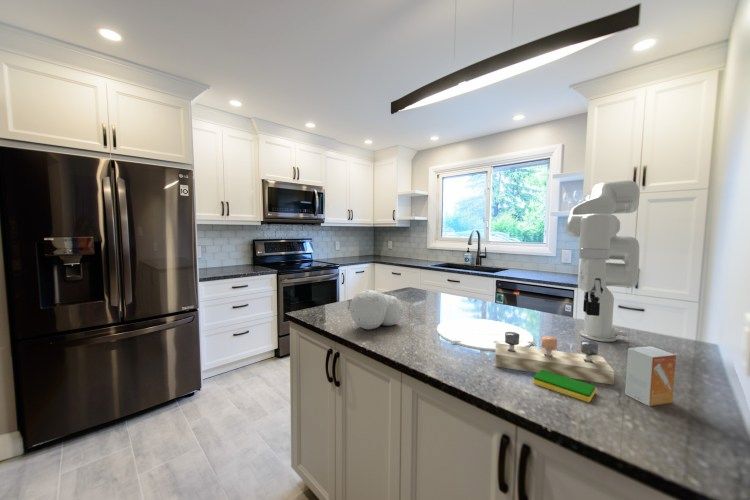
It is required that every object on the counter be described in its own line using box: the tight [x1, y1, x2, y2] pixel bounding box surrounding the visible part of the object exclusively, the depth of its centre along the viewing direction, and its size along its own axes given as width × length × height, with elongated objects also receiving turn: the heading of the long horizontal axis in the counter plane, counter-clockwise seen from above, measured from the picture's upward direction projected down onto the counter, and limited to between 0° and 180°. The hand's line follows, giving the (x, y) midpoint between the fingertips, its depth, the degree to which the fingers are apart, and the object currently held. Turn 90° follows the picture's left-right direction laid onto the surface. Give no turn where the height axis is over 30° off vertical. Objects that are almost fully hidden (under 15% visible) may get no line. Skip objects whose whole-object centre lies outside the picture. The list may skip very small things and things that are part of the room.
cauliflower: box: [349, 289, 404, 330], centre depth 143 cm, size 20×25×22 cm
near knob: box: [580, 339, 599, 363], centre depth 96 cm, size 4×4×7 cm
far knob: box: [505, 332, 519, 352], centre depth 104 cm, size 4×4×7 cm
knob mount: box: [494, 343, 615, 385], centre depth 100 cm, size 32×11×4 cm, turn 68°
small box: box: [624, 345, 677, 407], centre depth 81 cm, size 8×6×13 cm
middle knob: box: [540, 335, 558, 357], centre depth 100 cm, size 4×4×7 cm
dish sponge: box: [532, 370, 596, 403], centre depth 87 cm, size 7×14×2 cm, turn 44°
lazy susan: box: [436, 318, 537, 352], centre depth 133 cm, size 40×39×3 cm
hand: (591, 313), depth 95 cm, fingers open, 2 cm apart
